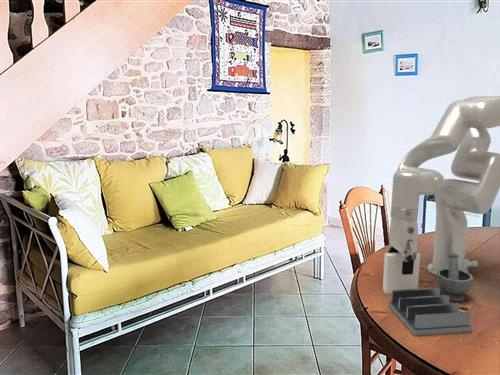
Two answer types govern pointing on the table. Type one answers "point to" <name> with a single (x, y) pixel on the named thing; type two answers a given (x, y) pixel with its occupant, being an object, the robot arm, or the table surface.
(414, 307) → the rack
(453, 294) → the mortar and pestle
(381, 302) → the table surface
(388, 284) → the white flat block
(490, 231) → the table surface
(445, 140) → the robot arm
